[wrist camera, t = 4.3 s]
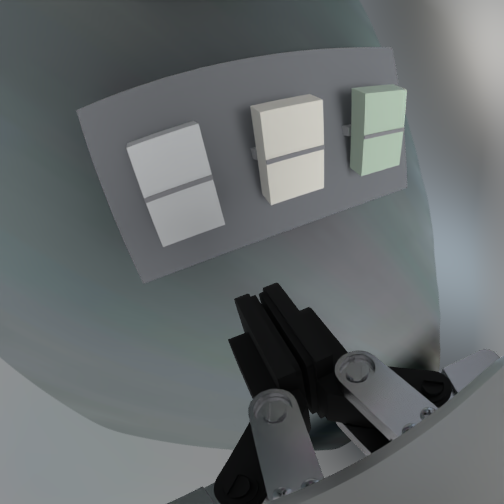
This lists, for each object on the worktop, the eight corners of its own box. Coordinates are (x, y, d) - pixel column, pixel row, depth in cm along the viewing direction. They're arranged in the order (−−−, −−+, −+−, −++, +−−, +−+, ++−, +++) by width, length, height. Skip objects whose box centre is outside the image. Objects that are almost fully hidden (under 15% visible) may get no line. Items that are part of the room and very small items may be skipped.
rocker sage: (351, 88, 20) (366, 94, 18) (393, 84, 20) (407, 90, 19) (349, 167, 25) (361, 176, 23) (387, 157, 25) (399, 165, 24)
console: (91, 110, 22) (73, 110, 16) (353, 52, 26) (398, 47, 20) (143, 255, 29) (145, 293, 23) (371, 176, 33) (412, 193, 28)
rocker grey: (127, 143, 17) (126, 148, 16) (193, 120, 18) (198, 123, 17) (160, 236, 21) (163, 248, 20) (219, 215, 22) (225, 225, 21)
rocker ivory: (250, 105, 18) (260, 112, 17) (310, 94, 19) (323, 100, 18) (262, 194, 23) (271, 205, 22) (313, 178, 24) (324, 188, 23)
